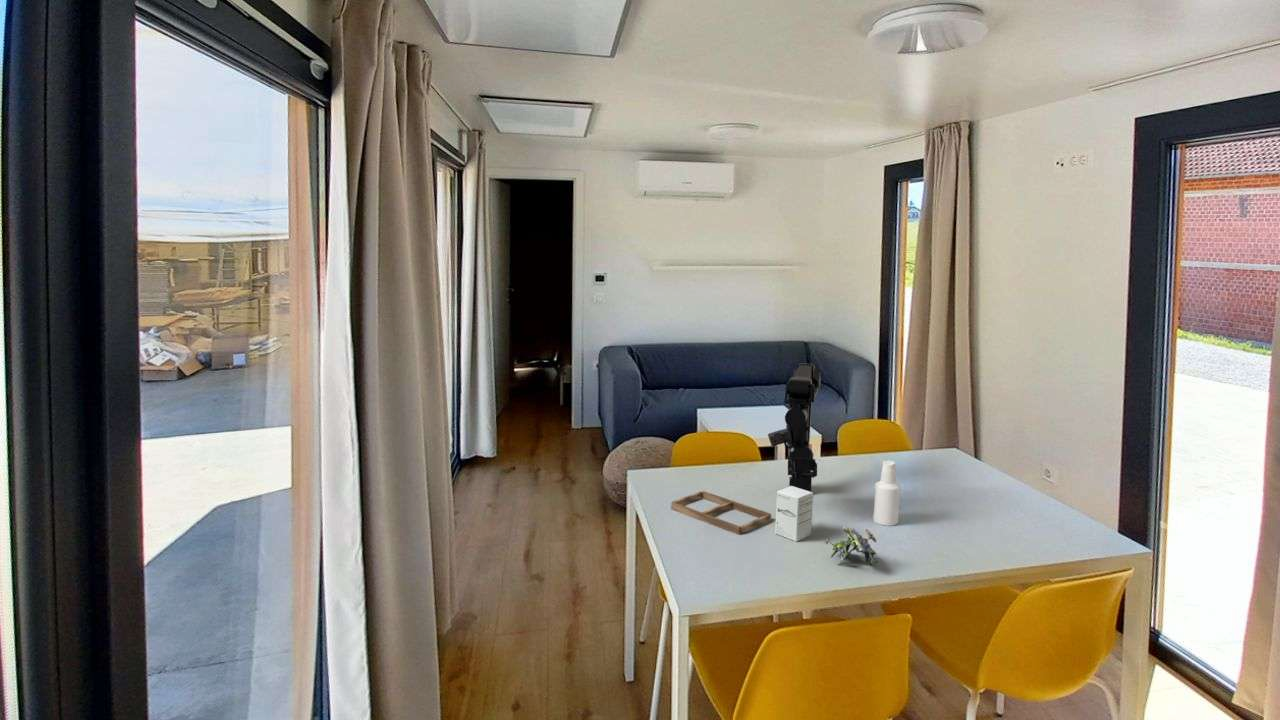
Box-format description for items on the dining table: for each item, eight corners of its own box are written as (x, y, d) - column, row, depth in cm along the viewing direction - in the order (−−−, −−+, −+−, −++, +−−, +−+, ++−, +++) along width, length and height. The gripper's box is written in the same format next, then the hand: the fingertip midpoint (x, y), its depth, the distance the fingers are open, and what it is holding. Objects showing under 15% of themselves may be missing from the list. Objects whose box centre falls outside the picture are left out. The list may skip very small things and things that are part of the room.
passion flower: (866, 584, 174) (891, 559, 166) (828, 581, 171) (851, 555, 163) (853, 545, 182) (875, 519, 174) (816, 541, 179) (838, 515, 171)
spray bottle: (897, 518, 202) (901, 460, 199) (898, 527, 195) (902, 466, 193) (873, 515, 204) (876, 457, 201) (872, 524, 198) (876, 464, 195)
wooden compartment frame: (702, 496, 219) (702, 490, 219) (772, 520, 200) (772, 514, 200) (669, 508, 209) (669, 502, 209) (740, 535, 190) (740, 528, 189)
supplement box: (774, 534, 191) (775, 490, 189) (790, 527, 196) (791, 484, 194) (796, 542, 185) (798, 498, 183) (812, 535, 190) (814, 491, 188)
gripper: (768, 414, 210) (766, 464, 212) (772, 427, 192) (770, 481, 193) (805, 416, 209) (802, 466, 211) (813, 429, 190) (810, 483, 192)
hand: (795, 474), depth 202 cm, fingers open, 9 cm apart
